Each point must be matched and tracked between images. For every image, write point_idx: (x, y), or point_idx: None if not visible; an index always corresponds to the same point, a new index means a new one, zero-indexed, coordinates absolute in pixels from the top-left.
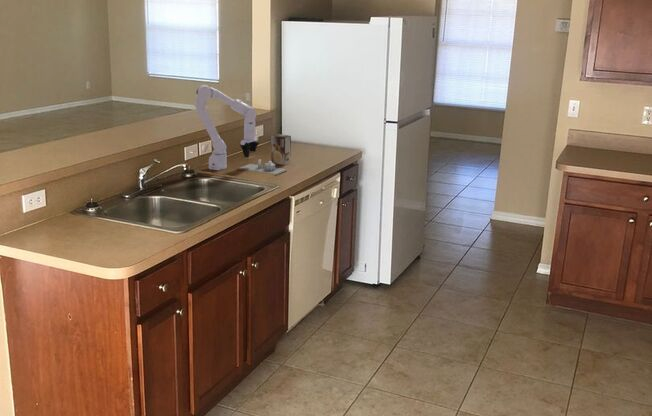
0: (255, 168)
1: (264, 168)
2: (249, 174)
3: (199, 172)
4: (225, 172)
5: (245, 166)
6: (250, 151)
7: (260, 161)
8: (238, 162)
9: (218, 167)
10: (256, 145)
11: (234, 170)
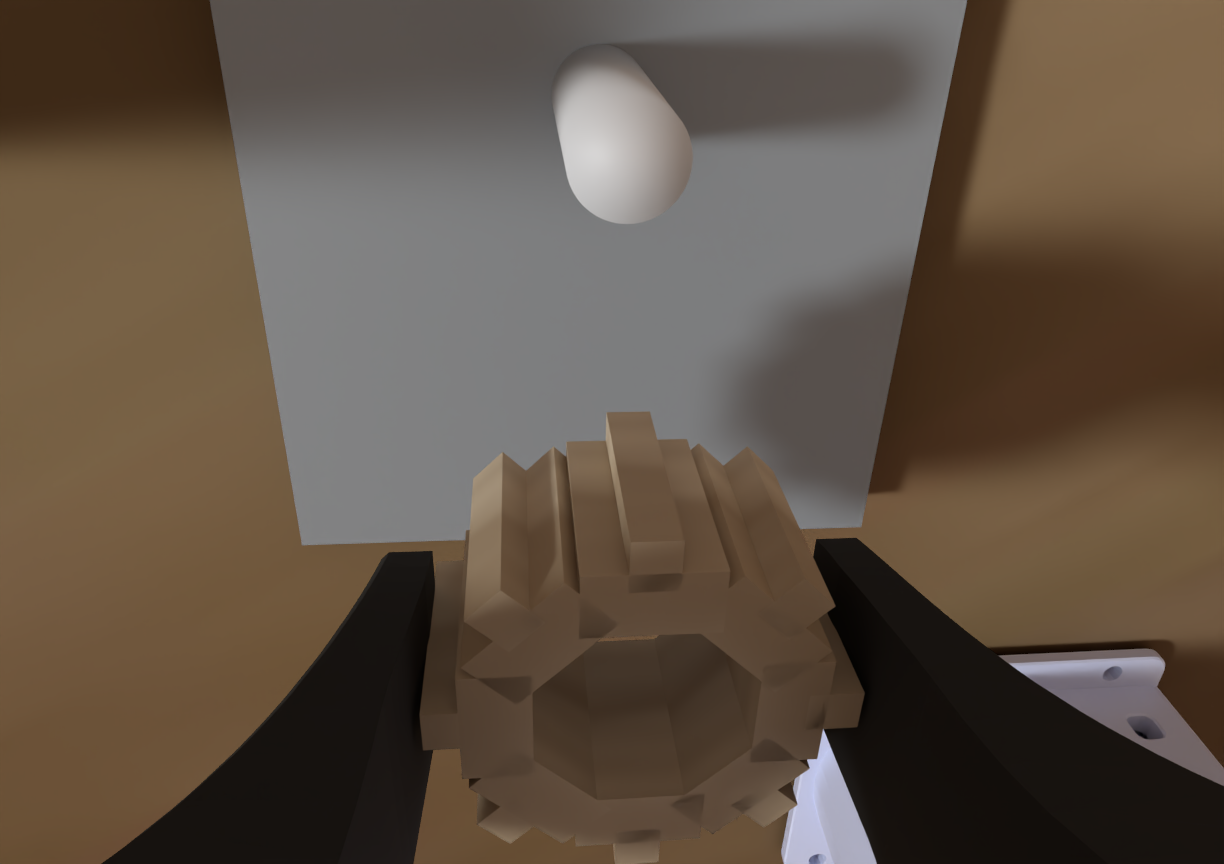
0: (689, 181)
1: None
2: (1129, 88)
3: None
4: (1095, 593)
5: None
6: (532, 735)
7: (643, 90)
8: None
9: (1203, 746)
10: (287, 843)
11: None
